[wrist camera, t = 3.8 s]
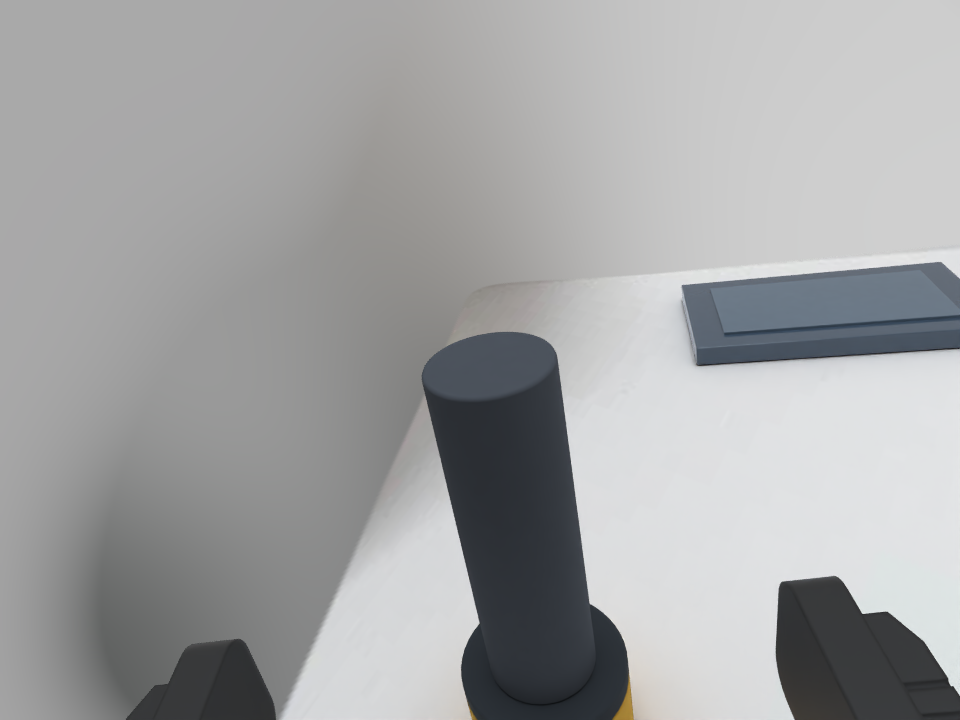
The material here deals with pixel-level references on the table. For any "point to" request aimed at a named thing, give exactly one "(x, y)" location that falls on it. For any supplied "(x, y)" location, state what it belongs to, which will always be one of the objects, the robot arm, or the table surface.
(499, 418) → the sponge wand
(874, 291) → the plate
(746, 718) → the table surface
